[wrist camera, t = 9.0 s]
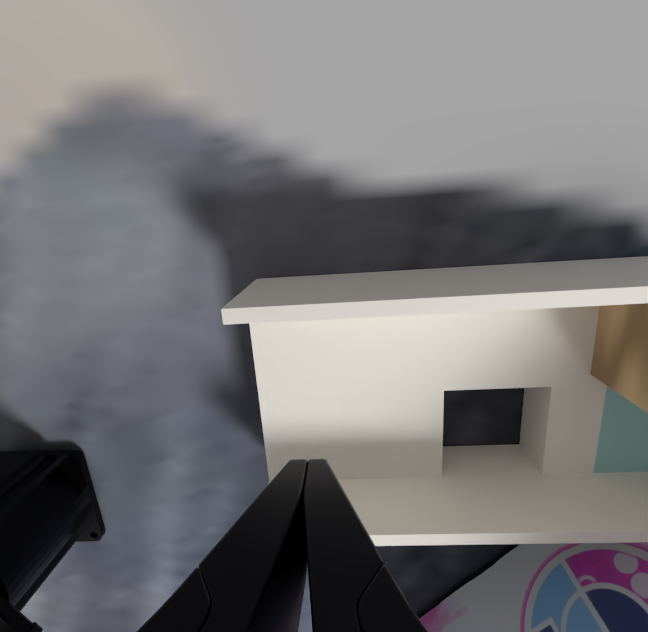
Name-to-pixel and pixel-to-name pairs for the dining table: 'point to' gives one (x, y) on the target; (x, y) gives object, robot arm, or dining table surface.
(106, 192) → the dining table surface
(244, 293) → the channel
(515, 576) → the gum box
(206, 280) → the dining table surface
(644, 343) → the oak block
